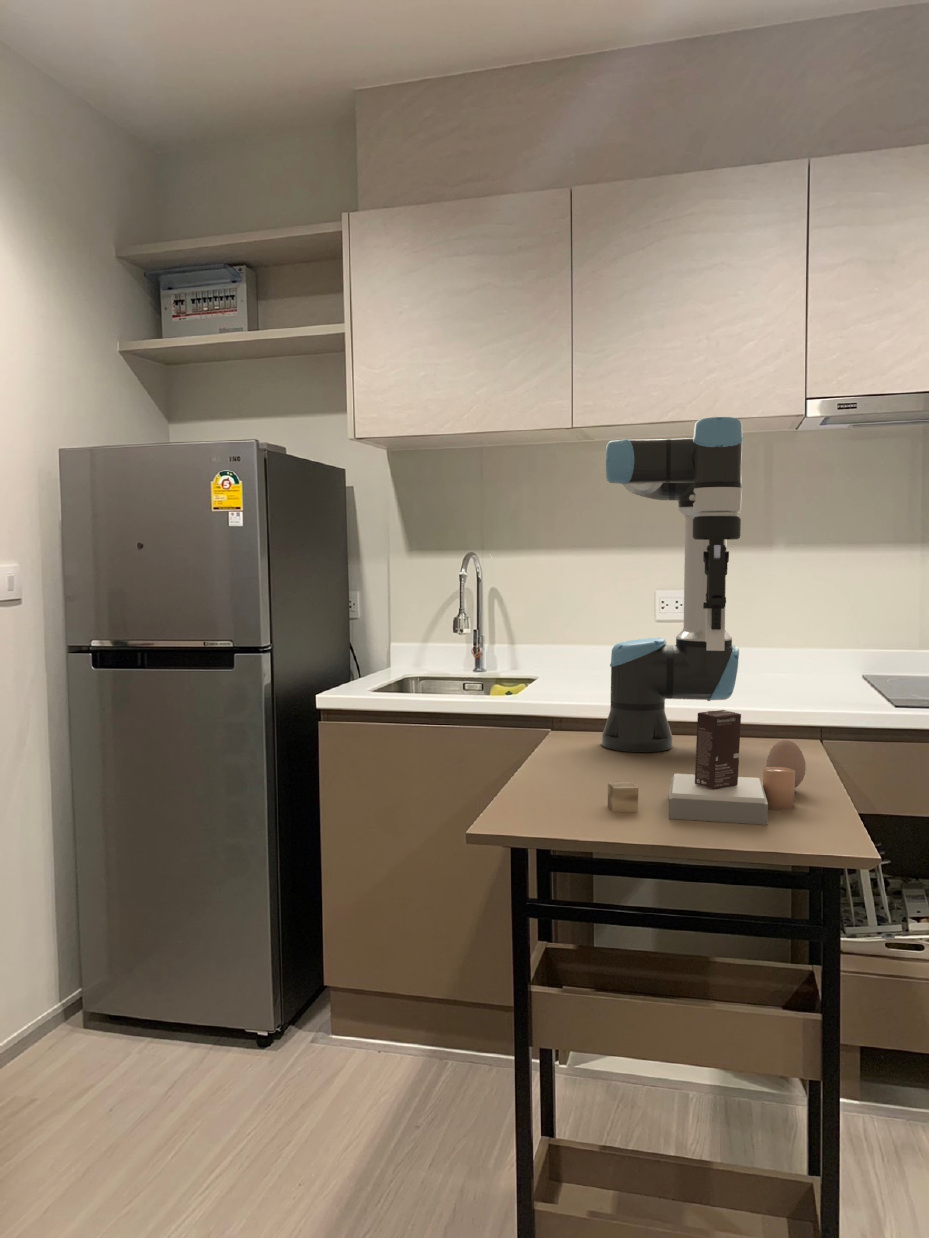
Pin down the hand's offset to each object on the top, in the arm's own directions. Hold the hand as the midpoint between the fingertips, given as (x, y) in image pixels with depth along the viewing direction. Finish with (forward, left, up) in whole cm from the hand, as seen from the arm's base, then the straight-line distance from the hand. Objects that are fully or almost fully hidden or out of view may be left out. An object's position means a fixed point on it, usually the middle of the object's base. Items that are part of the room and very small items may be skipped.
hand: (714, 646), depth 157 cm
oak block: (+4, -14, -27) cm, 31 cm away
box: (+1, +1, -23) cm, 23 cm away
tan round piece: (-4, +11, -27) cm, 29 cm away
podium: (+1, +1, -27) cm, 27 cm away
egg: (-15, +13, -27) cm, 33 cm away
